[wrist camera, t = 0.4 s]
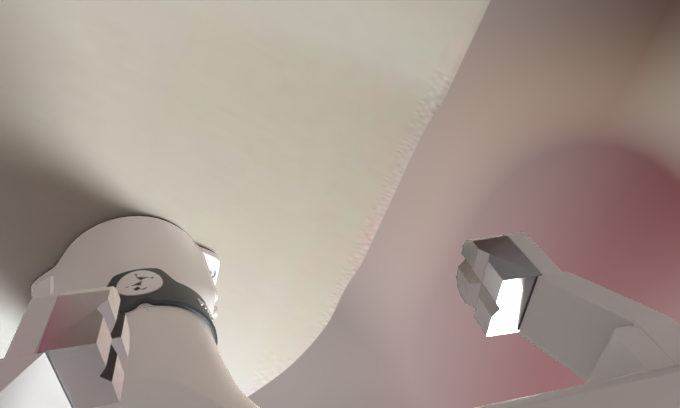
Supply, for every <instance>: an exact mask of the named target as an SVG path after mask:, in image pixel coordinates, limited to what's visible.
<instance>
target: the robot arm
mask: <svg viewBox="0 0 680 408" xmlns="http://www.w3.org/2000/svg"><path fill="white" fill-rule="evenodd" d="M461 253H462V255H463V256H464V258H465V260H464V261H463V262H462V263H461V264H460V265H459V266H458V271H457V276H456V278H457V287H458V290H459V293H460V295H461V297H462V298H463V300H464V302H465V303H466V304H468V305H470V306H472V307H473V308H475V311H474V318H475V319H476V321H477V322H478V324H479V325H480V327H481V329H482V330H483V332H484V333H485V335H486V336H492V335H499V334H506V333H513V332H518V334H520V335H521V336H523V337H524V338H526V339H527V340H528V341H530V342H532V343H533V344H534V345H535V346H537V347H538V348H540V349H541V350H543V351H544V352H545V353H547V354H548V355H550V356H551V357H553V358H554V359H555V360H557V361H558V362H560V363H561V364H563V365H564V366H565V367H567V368H568V369H570V370H571V371H573V372H574V373H575V374H577V375H578V376H580V377H581V378H583V379H584V380H585V381H587V383H586V384H583V385H578V386H573V387H568V388H564V389H559V390H554V391H550V392H545V393H540V394H536V395H531V396H527V397H523V398H517V399H513V400H508V401H503V402H499V403H494V404H489V405H485V406H480V407H476V408H680V326H679V325H678V324H677V323H676V322H675V321H674V320H673V319H672V318H671V317H669V316H667V315H665V314H662V313H660V312H658V311H656V310H653V309H651V308H649V307H647V306H644V305H642V304H640V303H638V302H635V301H633V300H631V299H629V298H626V297H624V296H622V295H619V294H617V293H615V292H613V291H611V290H608V289H606V288H604V287H602V286H599V285H597V284H595V283H593V282H590V281H588V280H586V279H584V278H581V277H579V276H577V275H575V274H572V273H570V272H562V271H561V270H560V269H559V268H558V267H557V266H556V265H555V264H554V263H553V262H552V261H551V260H550V258H549V257H548V256H547V255H546V254H545V253H544V252H543V251H542V250H541V249H540V248H539V247H538V246H537V245H536V244H535V243H534V242H533V241H532V240H531V239H530V238H529V236H528V235H526V234H524V233H522V232H519V233H512V234H505V235H502V236H494V237H486V238H480V239H472V240H467V241H466V242H465V243H464V245H463V248H462V252H461ZM219 267H220V261H219V258H218V256H217V255H216V254H215V253H213V252H212V251H209V250H207V249H205V248H202V247H199V246H198V245H197V244H195V243H194V242H193V241H192V239H191V238H190V237H189V236H188V235H187V234H186V233H185V232H184V231H183V230H181V229H180V228H178V227H177V226H175V225H173V224H171V223H169V222H167V221H164V220H161V219H158V218H153V217H146V216H128V217H121V218H116V219H112V220H109V221H106V222H103V223H101V224H98V225H96V226H94V227H92V228H91V229H89V230H87V231H86V232H84V233H83V234H81V235H80V236H79V237H78V238H77V239H76V240H75V241H74V242H73V243H72V244H71V245H70V246H69V247H68V248H67V250H66V251H65V253H64V254H63V256H62V257H61V259H60V260H59V262H58V263H57V265H56V266H55V267H54V268H52V269H51V270H49V271H48V272H46V273H45V274H43V275H42V276H41V277H39V278H38V279H37V280H36V281H35V282H34V283H33V284H32V286H31V296H32V299H31V300H30V302H29V304H28V306H27V309H26V311H25V313H24V315H23V317H22V320H21V322H20V324H19V326H18V329H17V331H16V333H15V335H14V337H13V340H12V342H11V344H10V346H9V348H8V351H7V353H6V355H5V357H4V358H3V359H0V408H260V407H259V406H257V405H256V404H255V403H253V402H252V401H251V400H250V399H249V398H248V397H247V396H246V395H245V394H244V393H243V392H242V391H241V390H240V389H239V388H238V387H237V385H236V384H235V382H234V380H233V379H232V377H231V375H230V373H229V371H228V369H227V367H226V365H225V363H224V361H223V359H222V357H221V355H220V352H219V350H218V348H217V334H216V329H215V323H214V320H213V319H214V318H217V315H218V309H217V306H214V305H215V301H217V300H218V294H217V291H216V288H215V286H216V281H217V276H218V272H219Z"/></svg>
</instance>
